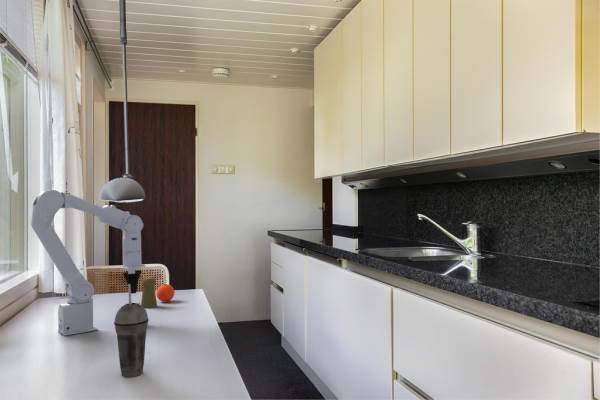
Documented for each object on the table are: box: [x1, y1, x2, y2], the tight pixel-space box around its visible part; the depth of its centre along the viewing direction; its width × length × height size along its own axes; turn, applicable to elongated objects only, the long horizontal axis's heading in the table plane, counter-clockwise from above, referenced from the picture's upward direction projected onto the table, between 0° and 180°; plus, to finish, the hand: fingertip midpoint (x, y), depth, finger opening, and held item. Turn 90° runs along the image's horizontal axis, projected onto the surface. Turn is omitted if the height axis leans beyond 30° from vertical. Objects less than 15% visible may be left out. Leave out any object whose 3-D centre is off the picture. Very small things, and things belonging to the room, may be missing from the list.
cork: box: [140, 276, 158, 309], centre depth 179 cm, size 6×6×11 cm
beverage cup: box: [113, 284, 150, 378], centre depth 105 cm, size 7×7×20 cm
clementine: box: [156, 283, 175, 303], centre depth 189 cm, size 8×7×7 cm
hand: (132, 293), depth 154 cm, fingers closed
